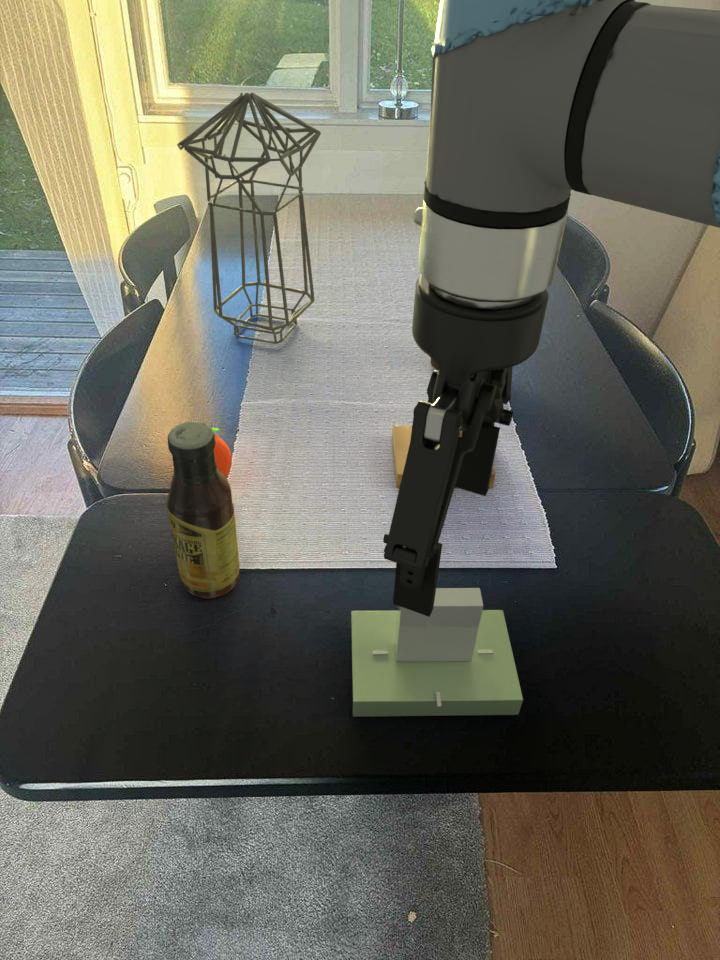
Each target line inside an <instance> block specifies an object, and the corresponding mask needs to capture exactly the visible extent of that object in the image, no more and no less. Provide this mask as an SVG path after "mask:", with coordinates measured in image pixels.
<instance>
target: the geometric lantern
mask: <svg viewBox="0 0 720 960" xmlns="http://www.w3.org/2000/svg"><path fill="white" fill-rule="evenodd" d="M243 93H244V92H240V93H239V95H238V96H237V97H236V98H235V99H233V100H232V101H231V102H230V103H229V104H227V105H226V106H225V107H223V108H222V109H220V110H219V111H218V112H217V113H215V114H214V115H213V116H212V117H210V118H209V119H208V120H206V121H205V122H204V123H202V124H201V125H199V127H197V128H196V129H195V130H193V131H192V132H191V133H190V134H189V135H187V136H185V138H183V139H181V141H179V142H178V143H177V144H176V146H177V147H178V149H179V150H180V151H182V150H183V149H184V151H185V152H187V153H188V154H189V155H190V156H192V158H194V159H195V160H196V161H197V162H199V163H200V164H201V165H202V166H204V170H205V171H204V173H205V182H206V185H205V186H206V198H207V199H206V200H207V202H208V203H207V205H208V207H209V224H210V225H209V227H210V228H209V229H210V246H211V247H210V252H211V254H210V255H211V274H212V275H211V277H212V278H211V279H212V298H213V299H212V300H213V311H214V313H215V314H216V315H217V317H218V318H220V319H222V320H224V321H226V322H227V323H229V324H230V325H231V326H233V335H234V336H235V337H237V338H239V339H244V340H250V341H256V342H262V343H266V344H272V345H278V344H280V343H282V342H284V340H285V339H287V337H288V336H289V335H290V333H291V332H292V331H293V330H294V329H295V328H296V326H297V325H298V318H299V317H300V316H301V315H302V314H303V313H305V311H307V310H308V308H309V307H310V306H312V305H313V304H314V303H315V301H316V300H315V291H314V290H315V289H314V282H313V272H312V264H311V254H310V245H309V235H308V229H307V228H308V227H307V220H306V219H307V218H306V210H305V209H306V208H305V199H304V193H303V191H304V187H303V166H304V164H305V162H306V160H307V159H308V158H309V156H310V154H311V152H312V150H313V149H314V147H315V145H316V143H317V141H318V140H319V138H320V137H321V134H322V133H321V131H320V130H319V129H317V128H316V127H314V126H312V125H310V124H309V123H307V122H306V121H303V120H301V118H299V117H296V116H295V115H293V114H291V113H289V112H287V111H286V110H285V109H282V108H281V107H280V106H277V105H275V104H274V103H272V102H270V101H269V100H266V99H265V98H263V97H261V96H259V95H258V94H256V93H255V92H252V91H251V92H245V93H244V94H243ZM248 106H249V108H250V111H251V114H252V117H253V120H254V122H252V121H249V120H246V119H245V118H246V113H247V110H248ZM256 110H257V111H258V114H259V116H260V118H261V120H262V123H263V125H262V124H260V120H259V117H258V114H257V111H256ZM271 110H272V111H273V112H275V113H276V114H279V115H280V116H283V117H284V118H285V119H288V120H290V121H292V122H293V123H295V124H298V125H299V126H301V127H298V128H297V127H296V128H291V127H287V126H284V125H283V124H282V123H281V122H280V120H279V119H278V118H277V116H275V115H274V114H273V113H272V111H271ZM235 122H237V123H238V126H237V128H236V133H235V136H234V137H235V138H234V141H233V145H232V149H231V152H230V156H227V155H226V154H223V150H224V147H225V142H226V138H227V137H228V135H229V132H230V131H231V129H232V128H233V126H234V124H235ZM273 123H274V124H275V125H274V124H273ZM210 126H212V127H211V128H210V129H209V130H208V131H207V132H205V134H204V135H203V136H202V137H199V136H200V135H201V134H202V133H203V132H204V131H205V130H207V129H208V128H209V127H210ZM251 127H252V128H256V130H257V133H256V132H255V131H254V130H253V129H252V128H251ZM243 128H244V129H245V130H246V131H247V132H248V133H249V134H251V136H252V137H254V139H256V140H257V141H258V142H259V143H260V144H261V147H262V153H261V155H260V156H257V157H255V156H253V157H252V156H249V157H248V156H236V154H237V150H238V147H239V142H240V138H241V134H242V130H243ZM215 131H216V132H215ZM263 131H267V134H268V135H269V136H268V143H267V142H266V139H265V136H264V133H263ZM279 131H280V132H282V133H283V134H284V135H285V142H284V140H283V138H282V137H281V135H280V133H279ZM294 133H295V134H296V133H305V135H303V136H302V137H300V138H299V139H298V140H296V139H295V138H294V137H293V136H292V134H294ZM273 135H274V137H275V138H276V140H277V141H278V143H279V144H280V146H281V148H278V145H277V144H276V142H275V139H274V137H273ZM219 136H220V138H219V139H218V140H217V137H219ZM197 137H198V138H197ZM207 140H208V141H210V140H213V146H214V148H213V149H208V148H206V141H207ZM217 141H218V142H217ZM289 141H290V142H291V143H292V145H290V146H289ZM198 143H201V146H202V147H198V146H194V144H198ZM302 143H303V144H302ZM272 144H273V146H272ZM301 144H302V145H301ZM288 146H289V147H288ZM306 148H307V149H306ZM305 149H306V151H305V152H304V150H305ZM269 151H272V152H275V153H277V155H278V158H271V155H270V152H269ZM303 152H304V154H303ZM297 153H299V163H298V164H297V166H296V167H295V165H294V163H293V157H292V156H293V155H295V154H297ZM200 156H201V157H200ZM202 157H203V158H204V159H203V158H202ZM286 158H288V163H289V165H288V164H287V162H286V161H285V159H286ZM214 159H216V160H219V161H224V162H227V165H228V167H229V171H230V174H221V173H220V172H219V171H217V168H216V164H215V160H214ZM209 160H210V163H211V164H209ZM235 162H237V163H240V162H241V163H255V164H254V165H252V166H250V167H248V168H247V169H245V170H242V171H241V172H240V171H238V170H237V168H236V167H235V165H234V164H233V163H235ZM270 162H280V164H281V165H282V167H283V168H284V170H285V171H286V173H287V174H288V177H287V180H286V182H285V184H283V183H276V182H270V181H264V180H257V179H254V178H255V177H256V174H257V172H258V170H259V168H261V167H263V166H265V165H267V164H268V163H270ZM234 171H235V172H234ZM210 172H211V173H212V174H213V175H214V178H215V179H219V183H218V186H217V189H216V192H215V193H213V194H211V184H210V183H211V181H210V180H211V179H210ZM235 173H236V174H235ZM250 173H251V175H250V177H249V178H248V179H245V178H244V177H245V176H247V175H249V174H250ZM294 175H295V177H296V180H297V183H298V186H296V185H290V184H289V183H290V181H291V179H292V177H293V176H294ZM224 180H234V181H232V182H230V183H229V184H228V185H226V186H224V187H223V188H221V187H222V184H223V181H224ZM236 184H237V185H238V203H239V205H238V207H236V206H231V205H225V204H219V203H216V201H217V198H218V196H219V194H222V193H223V192H225V191H226V190H228V189H229V188H231V187H233V186H234V185H236ZM245 184H248V185H250V192H249V190H248V189H247V187H246V186H245ZM255 184H261V185H267V186H275V187H280V188H283V189H282V192H281V193H280V197H279V199H278V201H277V203H276V205H275V209H274V210H265V211H263V210H262V209H261V208H260V206H259V204H258V203H257V202H256V197H255ZM287 189H293V190H298V191H297V192H298V193H297V194H296V195H295V196H293V197H292V198H291V199H289V200H288V201H286V202H285V203H283V204H282V205H281V202H282V200H283V197H284V196H285V192H286V190H287ZM243 192H244V194H245V195H246V196H247V198H248V199H249V201H250V202H251V209H247V208H244V206H243V205H244V204H243V203H244V201H243ZM297 199H298V207H299V222H300V223H299V224H300V239H301V253H302V254H301V255H302V271H303V285H304V286H303V287H304V289H303V290H302V289H298V288H293V287H288V286H286V283H285V276H284V265H283V258H282V250H281V241H280V231H279V222H278V214H277V213H279V212H280V211H281V210H283V209H284V208H285V207H287V206H288V205H290V204H291V203H293V202H294V201H296V200H297ZM214 207H216V208H220V209H221V208H222V209H227V210H232V211H239V232H240V233H239V234H240V235H239V236H240V257H241V285H240V286H238V288H237V289H235V290H234V291H233V292H232V293H230V294H229V295H228V296H227V297H226V298H224V299H223V300H222V295H221V293H222V292H221V282H220V273H219V271H220V270H219V259H218V247H217V235H216V224H215V212H214ZM244 213H249V214H252V215H251V216H252V223H253V224H252V226H253V241H254V242H253V243H254V255H255V266H256V279H257V281H252V282H246V262H245V261H246V259H245V258H246V257H245V234H244V233H245V232H244V231H245V230H244V227H245V226H244ZM257 215H259V217H260V218H259V219H260V232H261V242H262V255H263V269H264V279H265V282H262V281H261V267H260V266H261V265H260V252H259V239H258V225H257V224H258V223H257ZM265 216H272V218H273V228H274V236H275V244H276V254H277V261H278V270H279V271H278V272H279V279H280V285H277V284H272V283H270V274H269V262H268V261H269V259H268V249H267V248H268V247H267V236H266V225H265ZM308 282H309V283H308ZM308 285H309V286H308ZM253 286H255V301H254V303H253V302H252V300H251V298H250V295H249V294H248V291H247V289H246V287H253ZM259 286H263V287H265V293H266V304H262V303H258V300H259V288H260V287H259ZM308 287H309V288H308ZM271 288H272V289H276V290H281V295H282V304H283V306H277V305H272V298H271ZM242 290H243V292H244V294H245V296H246V299H247V301H248V304H249V305H248V306H247V307H246V309H244V311H243V312H242V313H241V314H240V315H239V316H238V317H233V316H229V315H225V314H223V306H224V305H225V304H227V303H228V302H229V301H230V300H231V299H232V298H234V297H235V296H236V295H237V294H238V293H240V292H241V291H242ZM287 292H292V293H295V294H296V293H297V294H300V295H301V294H302V295H301V296H300V297H299V299H298V301H297V302H296V303H295V305H294V307H293V308H291V307H290V308H289V307H288V302H287V301H288V300H287ZM305 296H307V297H308V298H309V301H307V302H305V304H304V305H302V306H301V307H300V308H298V306H299V305H300V303H301V302H302V301H303V299H304V297H305ZM253 307H255V314H253ZM259 307H263V308H267V313H268V315H267V314H263V313H259ZM272 309H276V310H283V312H284V317H280V316H275V315H273V311H272ZM296 309H297V310H296ZM248 311H249V316H248V317H247V318H246V319H242V318H243V317H244V316H245V315H246V314H247V312H248ZM289 311H290V313H291V316H290V317H289ZM255 317H262V318H267V319H268V325H264V324H261V323H257V322H253V321H250V320H252V318H255ZM273 319H275V320H281V321H285V323H282V324H279V325H276V326H274V323H273ZM238 323H240V324H241V325H240V324H238ZM292 324H293V325H292ZM245 325H247V326H245ZM291 325H292V326H291ZM290 326H291V328H289V329H288V331H286V333H285V334H284V335H283V331H284V330H285V329H286V328H287V327H290ZM255 327H256V328H255ZM242 329H244V330H249V331H255V332H261V333H265V334H270V335H273V340H268V339H263V338H258V337H257V338H256V337H251V336H246V335H240V330H242ZM277 330H278V331H277ZM277 335H279V340H277Z"/></svg>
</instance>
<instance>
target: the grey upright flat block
mask: <svg viewBox="0 0 720 960" xmlns="http://www.w3.org/2000/svg"><path fill="white" fill-rule="evenodd" d="M482 610H484V601H483V596H482V592H481V587H436V593H435V600H434V607H433V611H432V613H431V615H430V617H428V616H425V615H423V614H420V613H417V612H414V611H411V610H409V609H406V608H403V607H400V606H398V605H397V610H396V611H397V622H396V633H395V657H396V662H427V661H472V657H473V652H474V647H475V643H476V638H477V633H478V629H479V624H480V620H481V615H482Z"/></svg>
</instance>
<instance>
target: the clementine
mask: <svg viewBox="0 0 720 960" xmlns="http://www.w3.org/2000/svg"><path fill="white" fill-rule="evenodd" d="M211 428H212V429H213V431H214V436H215V443H216V444H215V448H214V454H215V461H216V464H217V469H220V470H221V472H222V473H223V475H224V476H225V477H226V478H227V477H228V476H229V473H230V471H231V468H232V461H233V460H232V459H233V458H232V452H231V450H230V447H229V446H228V444H227V443H226V442H225V440H224V439H222V437H220V436H218V435H217V434H215V432H217V431H221V432H222V434H225V431H224V430H223V429H221V428H218V427H211ZM172 466H173V467H174V464H173V463H172Z"/></svg>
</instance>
